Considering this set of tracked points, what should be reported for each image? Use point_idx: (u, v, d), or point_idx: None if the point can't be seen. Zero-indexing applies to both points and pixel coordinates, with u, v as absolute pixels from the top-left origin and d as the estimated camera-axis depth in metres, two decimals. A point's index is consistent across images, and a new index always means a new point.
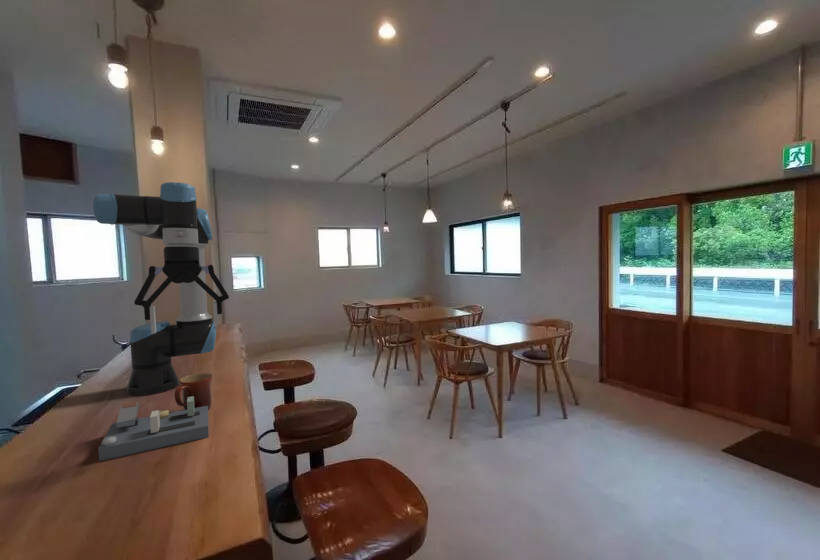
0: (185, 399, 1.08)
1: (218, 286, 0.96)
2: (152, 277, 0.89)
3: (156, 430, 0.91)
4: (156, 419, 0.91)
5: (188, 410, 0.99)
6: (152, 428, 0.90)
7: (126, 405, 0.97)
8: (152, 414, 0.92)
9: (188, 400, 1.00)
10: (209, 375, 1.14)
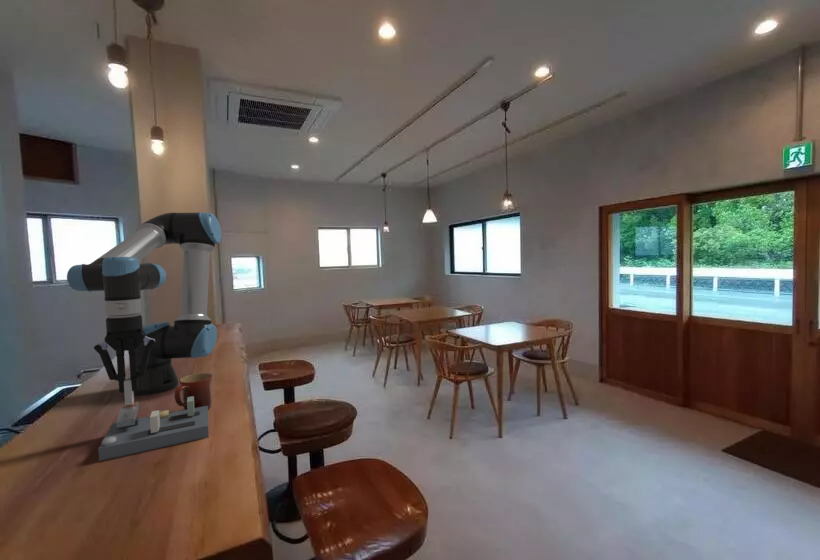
0: (185, 399, 1.08)
1: (143, 361, 0.98)
2: (104, 353, 0.94)
3: (156, 430, 0.91)
4: (156, 419, 0.91)
5: (188, 410, 0.99)
6: (152, 428, 0.90)
7: (126, 405, 0.97)
8: (152, 414, 0.92)
9: (188, 400, 1.00)
10: (209, 375, 1.14)
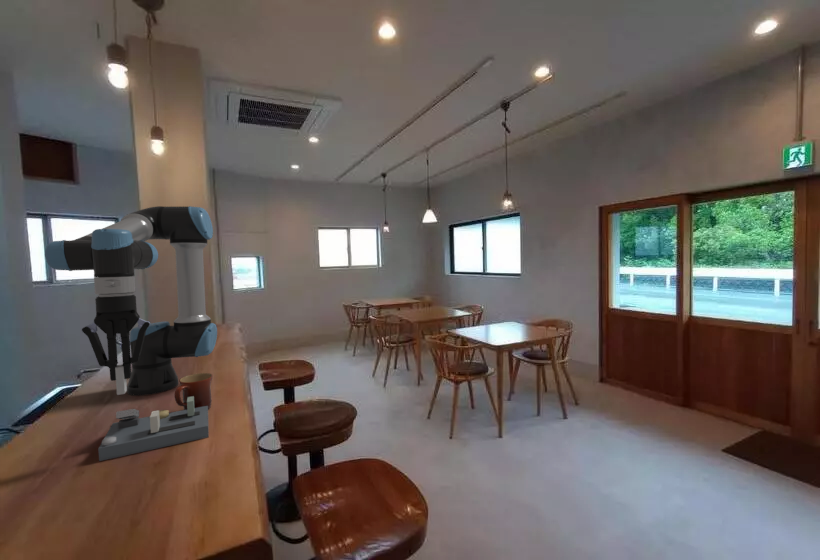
0: (185, 399, 1.08)
1: (137, 345, 0.89)
2: (93, 336, 0.85)
3: (156, 430, 0.91)
4: (156, 419, 0.91)
5: (188, 410, 0.99)
6: (152, 428, 0.90)
7: None
8: (152, 414, 0.92)
9: (188, 400, 1.00)
10: (209, 375, 1.14)
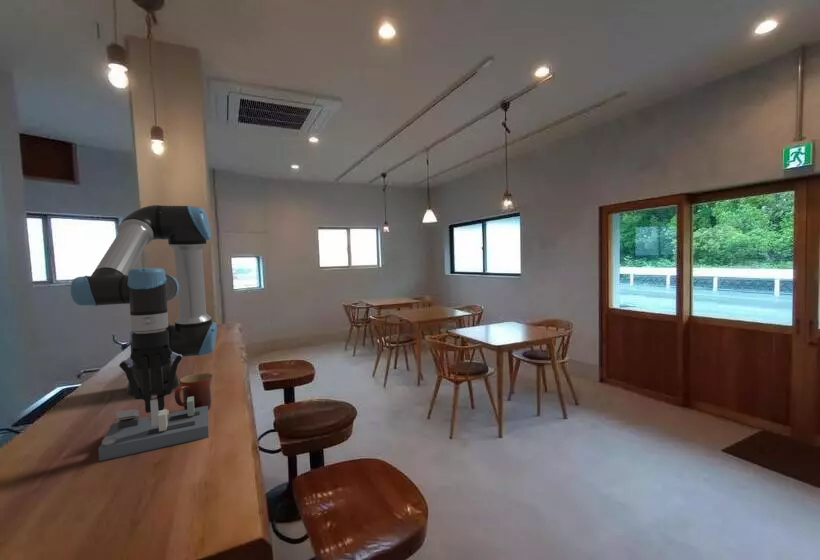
0: (185, 399, 1.08)
1: (170, 378, 0.92)
2: (130, 371, 0.88)
3: (164, 428, 0.92)
4: (164, 417, 0.91)
5: (188, 410, 0.99)
6: (160, 426, 0.91)
7: None
8: (160, 413, 0.92)
9: (188, 400, 1.00)
10: (209, 375, 1.14)
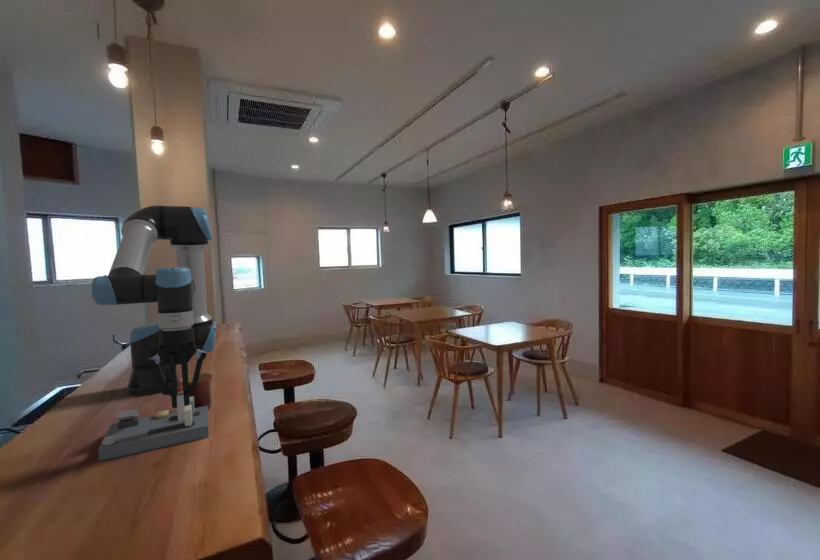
0: None
1: (195, 375, 0.95)
2: (157, 367, 0.91)
3: (190, 423, 0.94)
4: (190, 413, 0.94)
5: None
6: (186, 421, 0.94)
7: None
8: (186, 408, 0.95)
9: None
10: (209, 375, 1.14)
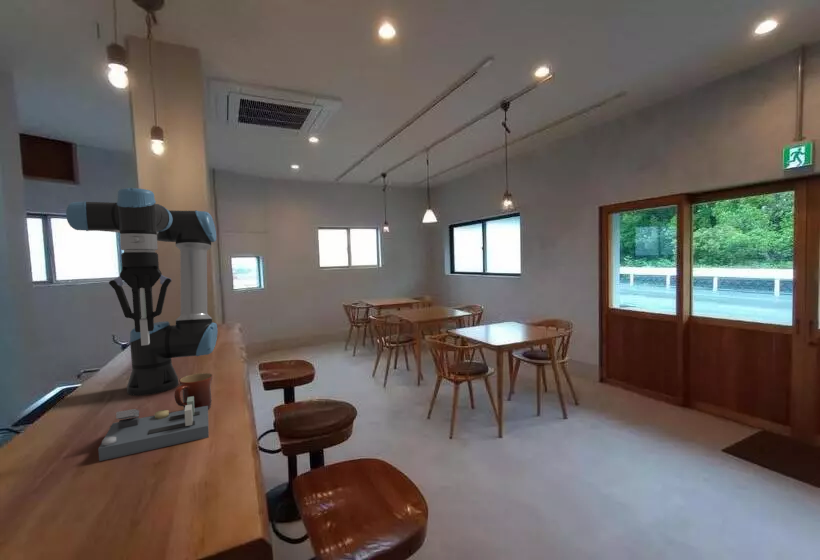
0: (185, 399, 1.08)
1: (159, 300, 0.94)
2: (119, 289, 0.90)
3: (190, 423, 0.94)
4: (190, 413, 0.94)
5: None
6: (186, 421, 0.94)
7: None
8: (186, 408, 0.95)
9: (188, 400, 1.00)
10: (209, 375, 1.14)
